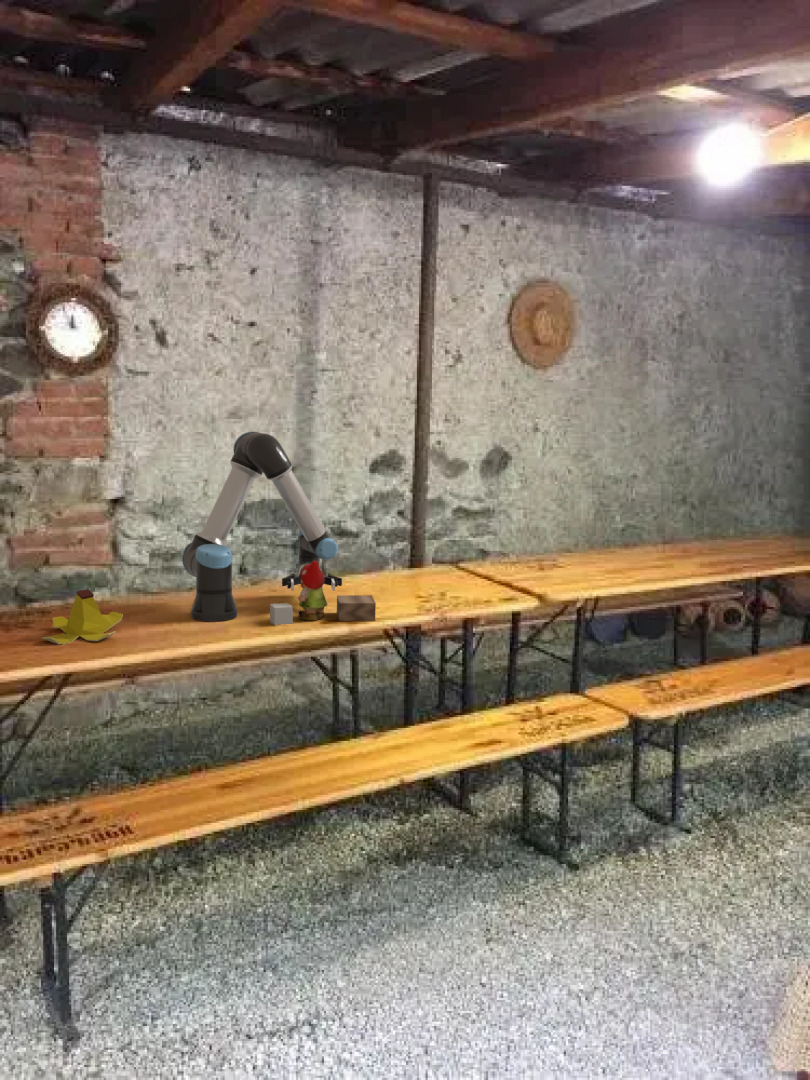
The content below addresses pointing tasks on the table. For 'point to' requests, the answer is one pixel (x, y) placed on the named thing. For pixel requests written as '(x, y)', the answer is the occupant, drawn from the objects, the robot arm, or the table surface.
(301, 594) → the figurine
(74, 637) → the banana peel
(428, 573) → the table surface
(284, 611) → the grey cube
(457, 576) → the table surface
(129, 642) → the table surface
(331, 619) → the table surface
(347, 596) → the pedestal
